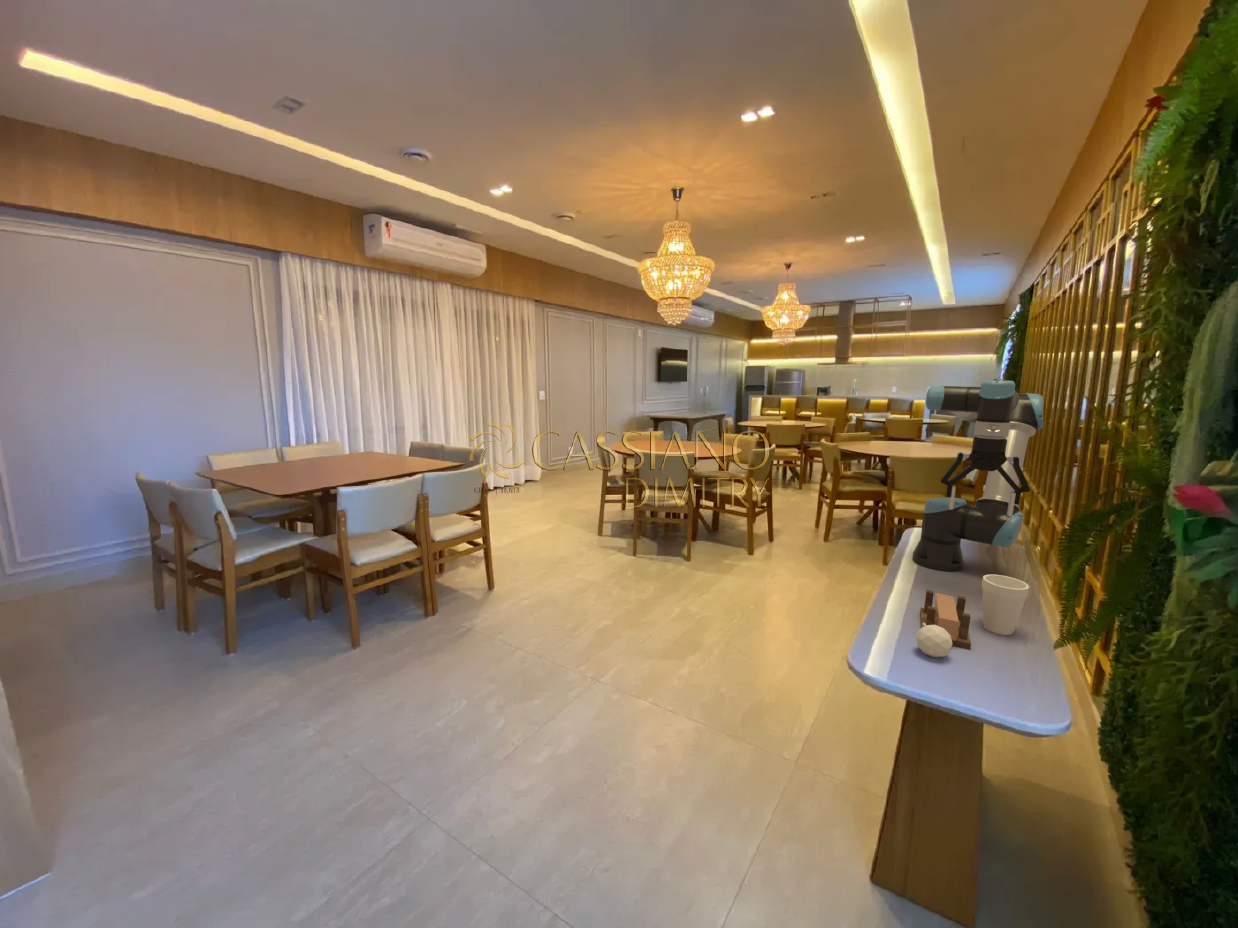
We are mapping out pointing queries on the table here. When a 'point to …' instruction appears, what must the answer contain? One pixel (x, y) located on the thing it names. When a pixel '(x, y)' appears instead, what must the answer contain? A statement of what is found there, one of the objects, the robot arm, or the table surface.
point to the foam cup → (1002, 603)
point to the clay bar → (946, 614)
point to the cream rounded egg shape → (934, 640)
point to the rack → (964, 619)
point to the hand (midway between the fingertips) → (979, 511)
